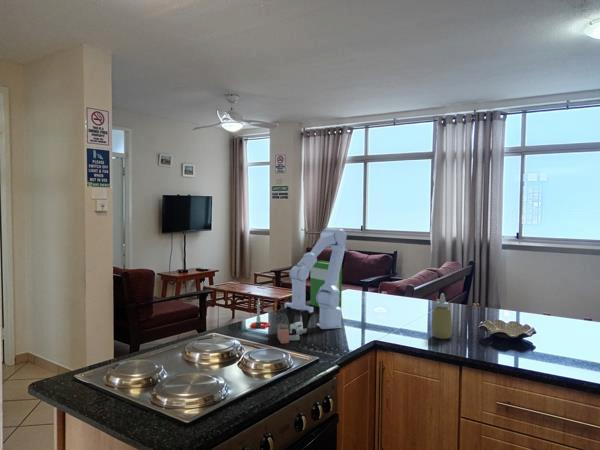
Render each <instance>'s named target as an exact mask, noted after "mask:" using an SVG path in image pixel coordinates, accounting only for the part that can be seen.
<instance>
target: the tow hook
mask: <svg viewBox="0 0 600 450" xmlns="http://www.w3.org/2000/svg"><path fill="white" fill-rule="evenodd" d="M260 302H261V300H260V298H258V299H257V304H256V305H257V307H256V311H257V312H256V321H255V322H252V323H251V324H250V328H251V329H266V328H268V327H270V326H271V323H270V322H267V321H261V303H260Z"/></svg>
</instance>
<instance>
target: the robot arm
mask: <svg viewBox="0 0 600 450" xmlns="http://www.w3.org/2000/svg"><path fill="white" fill-rule="evenodd" d="M319 236H320V237H319V239H318V240H317V241H316V243H315V244H314V246H313V247H312V249H311V251H310V252H306V253H303V256H302V258H301V259H300V260H299V262H297V264H296V265H294V266H293V267H292V268H291V269H290V270H289V273H288V275H289V278H290V279H291V302H289V301H287V302H284V308H285V309H284V313H285V314H286V316H287V317H286V318H287V320H288V326H290V324H292V323H295V318H296V317H295V316H296V313H297V312H296V311H297V310H299V311H302V312H300V315H301V319H302V322H303V329H306V328H307V329H308V327H309V324H310V320H311V318H312V316H313V315H314V306H310V305H307V304H306V297H307V296H306V295H307V294H306V290H307V289H306V288H307V287H306V283H307V279H309V277H310V273H311V268H312V267H313V265H314V264H315V263H316V262H317V261H318V258H317V257H318V256H319V255H320V254H321V253H322V251H324V250H325V248H326V247H327V246H329V248H331V254H330V259H329V262H330V263H329V267H328V271H327V275H326V280H325V284H324V285H322V286H321V287H320V289H319V292H318V293H317V295H316V301H317V303H318V304H319V306H320V307H319V322H318V323H316V326H317V327H319V328H320V329H321V330H328V329H329V330H331V329H342V327H343V326H342V308H341V309H340V307H339V306H337V305H338V304H339V300H340V298H339V294H340V291H339V290H338V288H337V287H336V286H337V282H338V278H339V273H340V269H341V265H342V266H343V264H342V263H343V259H344V256H345V255H344V254H345V252H346V251H345V250H346V240H347V236H348V235H347V233H346V231H345V230H344V229H343V228H333V227H332V228H331V227H326V228H324V229H323V230H322V232H321V233H320V235H319ZM328 291H331V293H330V292H328Z"/></svg>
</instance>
